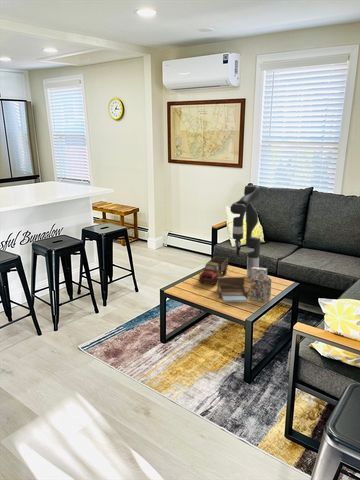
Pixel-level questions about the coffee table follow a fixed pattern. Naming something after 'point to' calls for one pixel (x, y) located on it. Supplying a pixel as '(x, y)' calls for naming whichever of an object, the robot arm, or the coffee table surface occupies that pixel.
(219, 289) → the box
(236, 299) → the panel
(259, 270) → the candy bar box
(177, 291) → the coffee table surface
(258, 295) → the decorative jar
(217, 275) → the toy truck
